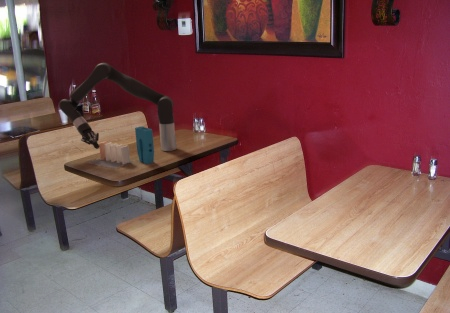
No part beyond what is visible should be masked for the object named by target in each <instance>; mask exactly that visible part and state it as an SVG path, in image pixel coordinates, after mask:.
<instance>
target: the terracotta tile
mask: <svg viewBox="0 0 450 313" xmlns="http://www.w3.org/2000/svg"><path fill="white" fill-rule="evenodd" d="M107 143H108V142H107V141H106V140H105V141H102V142H99V143H98V144H99V153H100V158H101V160H103V159H106V155H105V146H104V144H107Z"/></svg>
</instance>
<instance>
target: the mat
mask: <svg viewBox="0 0 450 313" xmlns="http://www.w3.org/2000/svg"><path fill="white" fill-rule="evenodd" d="M131 163H134V161H132V160H130V162H129V163H126V164H122V162H120V163H117V161H114V162H111V160H109V161H106V159H103V160H101V157H100V158H97V159H93V160H91V161H88V162H87V164H90V165H94V166H95V165H96V166H99V167H104V168H108V169H111V170H112V169H113V170H115V169H117V168H120V167H123V166H126V165H130V164H131Z"/></svg>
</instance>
